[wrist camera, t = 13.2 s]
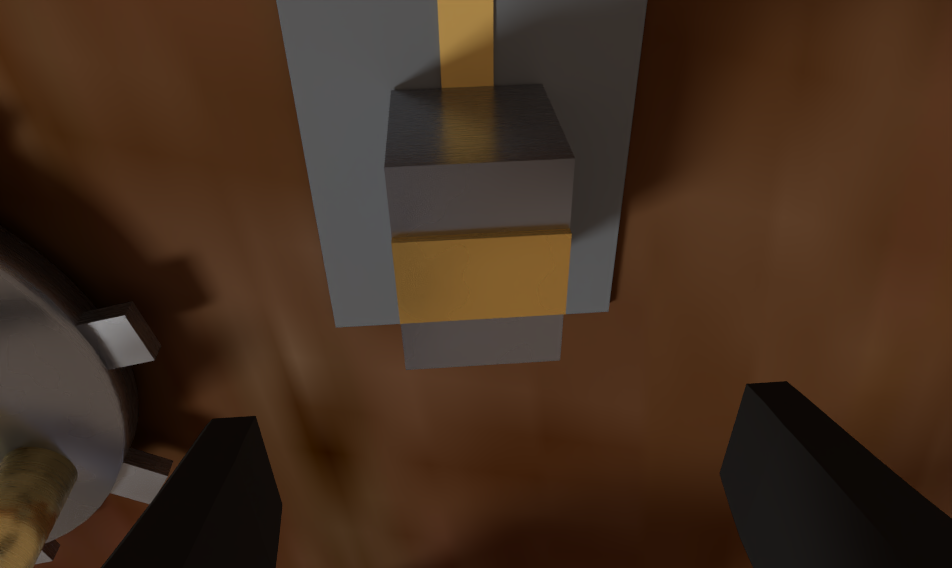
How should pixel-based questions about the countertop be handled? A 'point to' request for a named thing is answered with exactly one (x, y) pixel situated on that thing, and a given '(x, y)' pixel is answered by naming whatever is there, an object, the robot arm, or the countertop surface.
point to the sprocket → (64, 405)
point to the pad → (446, 66)
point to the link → (479, 224)
